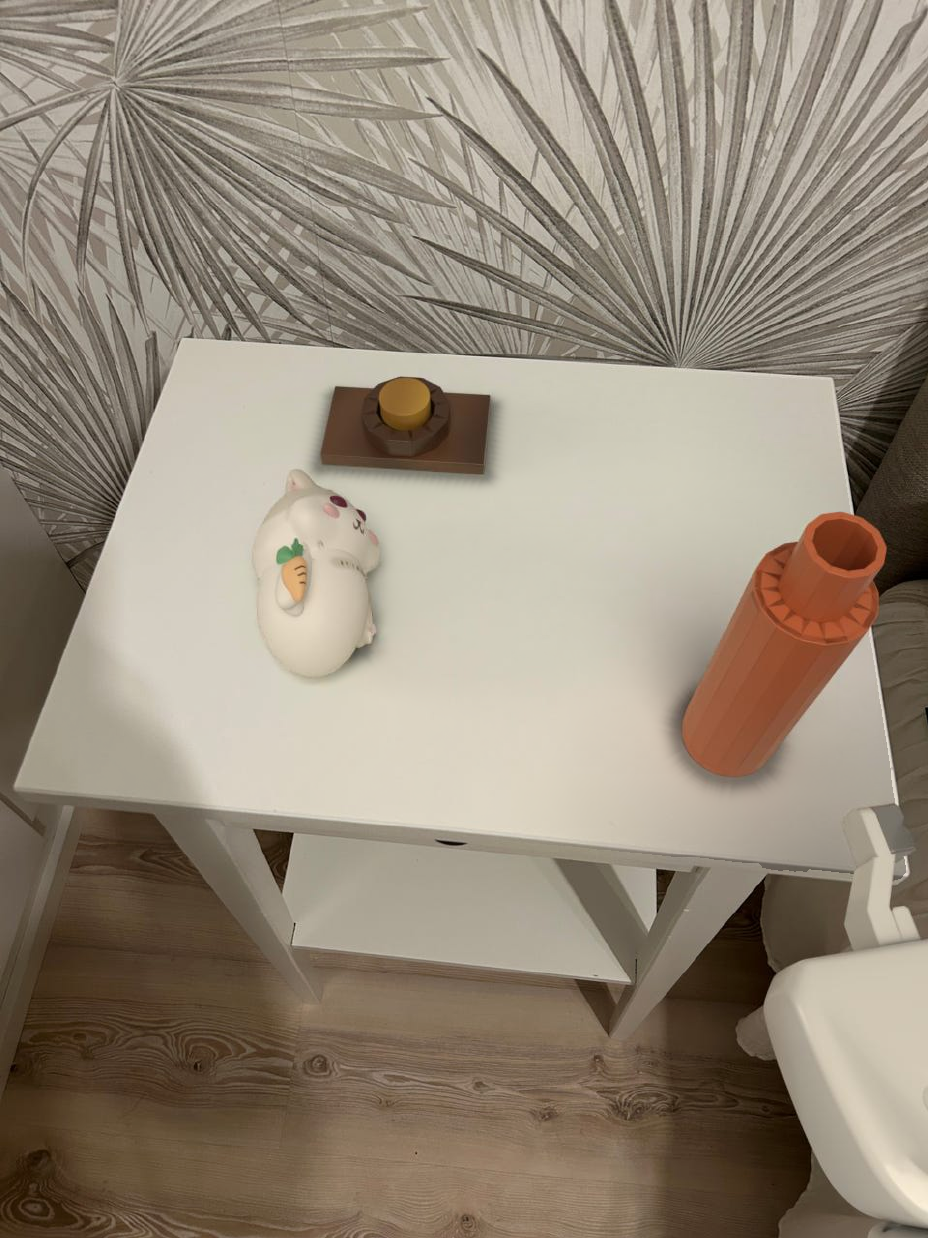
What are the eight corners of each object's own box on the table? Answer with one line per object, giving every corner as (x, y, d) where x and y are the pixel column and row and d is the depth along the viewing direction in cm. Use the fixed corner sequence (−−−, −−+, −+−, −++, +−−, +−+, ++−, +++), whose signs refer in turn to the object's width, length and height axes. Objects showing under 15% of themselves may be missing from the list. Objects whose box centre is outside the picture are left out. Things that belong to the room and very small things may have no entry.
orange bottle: (756, 688, 61) (883, 484, 42) (785, 770, 58) (935, 590, 39) (671, 700, 61) (760, 499, 42) (695, 783, 58) (803, 608, 39)
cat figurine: (312, 636, 53) (307, 426, 59) (213, 670, 56) (217, 469, 62) (404, 676, 60) (391, 487, 66) (312, 704, 64) (307, 522, 70)
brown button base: (490, 404, 75) (491, 378, 72) (483, 474, 71) (483, 449, 68) (336, 395, 75) (331, 369, 73) (322, 464, 72) (316, 439, 69)
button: (433, 394, 72) (432, 378, 70) (428, 432, 70) (427, 416, 68) (384, 391, 72) (382, 375, 70) (377, 429, 70) (375, 413, 68)
